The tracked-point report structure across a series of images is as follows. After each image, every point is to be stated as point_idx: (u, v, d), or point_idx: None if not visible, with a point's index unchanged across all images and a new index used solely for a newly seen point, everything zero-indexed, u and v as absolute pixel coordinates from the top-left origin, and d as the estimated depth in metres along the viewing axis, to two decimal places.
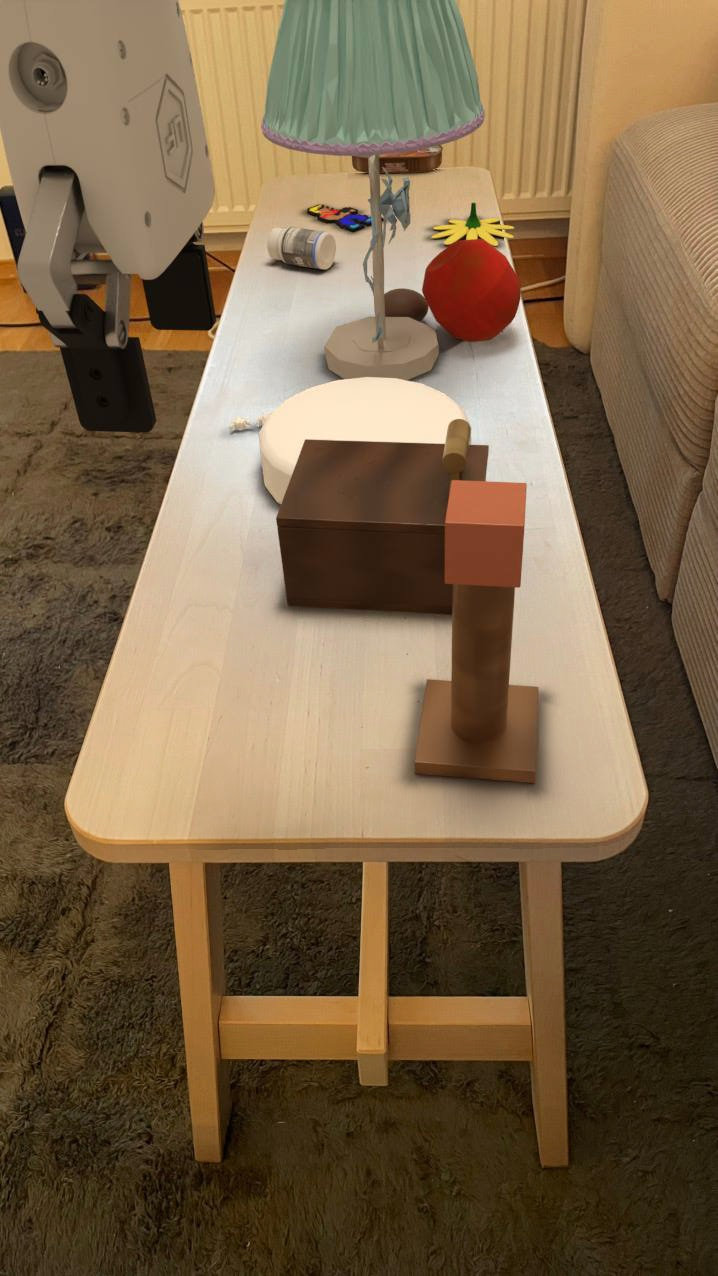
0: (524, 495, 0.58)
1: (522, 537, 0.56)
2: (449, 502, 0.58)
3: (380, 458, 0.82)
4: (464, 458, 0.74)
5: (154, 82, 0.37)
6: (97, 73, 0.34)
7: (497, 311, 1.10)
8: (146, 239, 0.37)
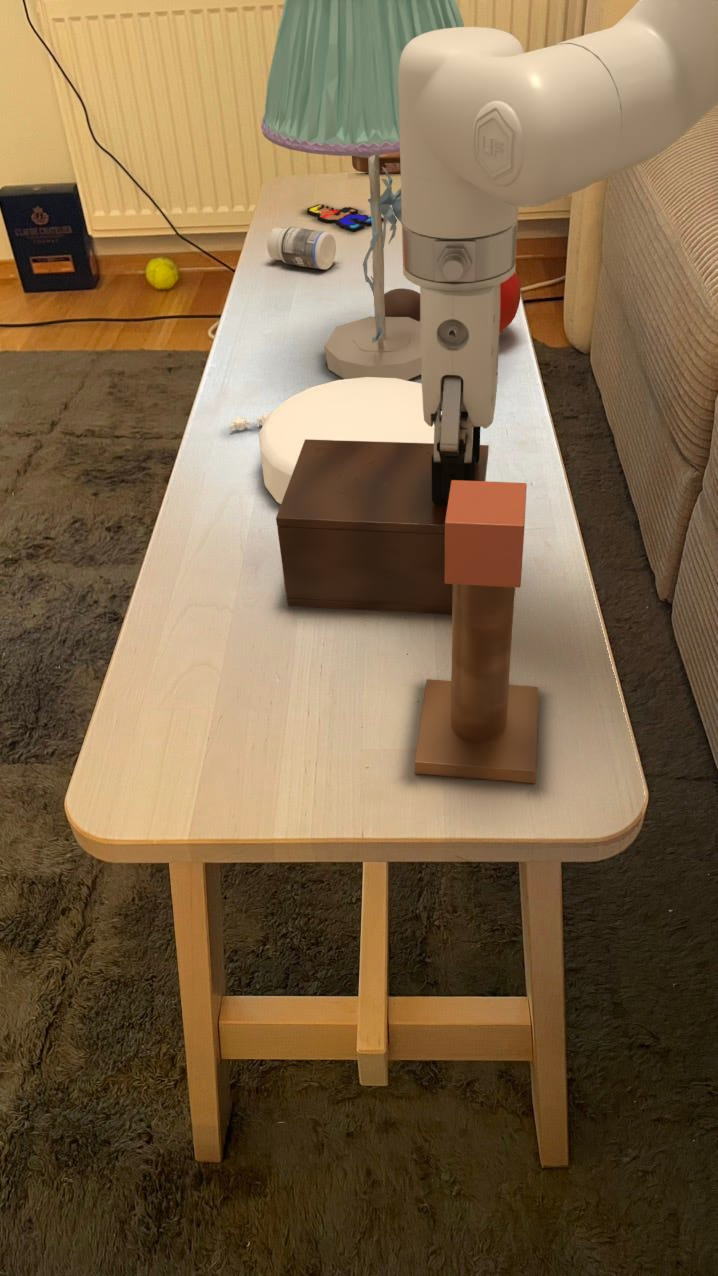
0: (524, 495, 0.58)
1: (522, 537, 0.56)
2: (449, 502, 0.58)
3: (380, 458, 0.82)
4: None
5: (498, 327, 0.68)
6: (483, 332, 0.65)
7: None
8: (490, 409, 0.69)
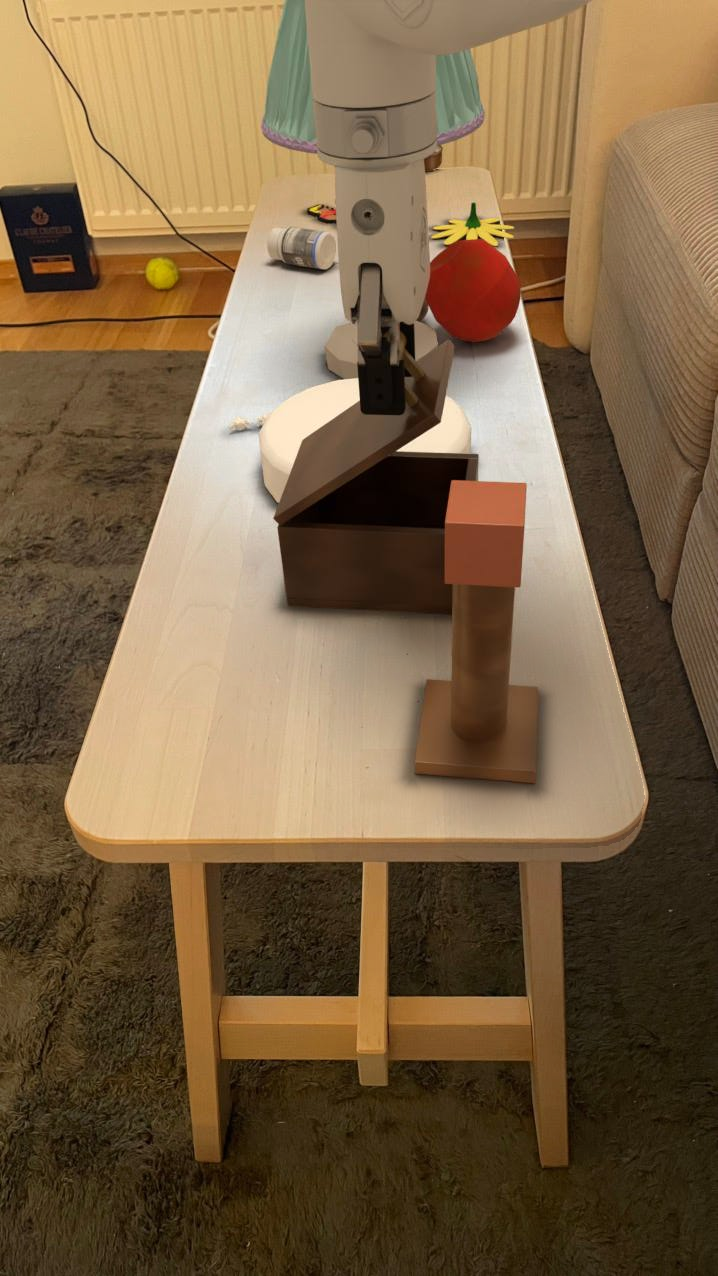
0: (524, 495, 0.58)
1: (522, 537, 0.56)
2: (449, 502, 0.58)
3: (358, 413, 0.79)
4: None
5: (420, 213, 0.64)
6: (400, 214, 0.61)
7: (497, 311, 1.10)
8: (413, 302, 0.65)
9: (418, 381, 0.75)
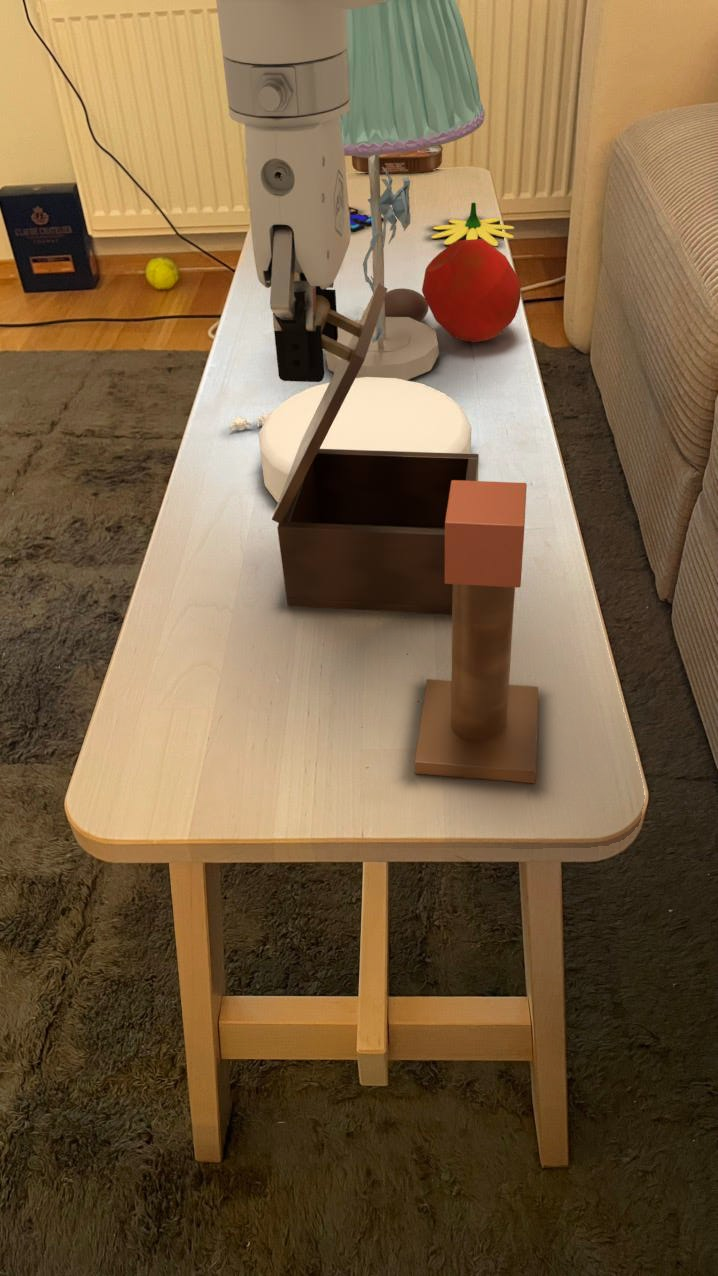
0: (524, 495, 0.58)
1: (522, 537, 0.56)
2: (449, 502, 0.58)
3: (326, 392, 0.79)
4: None
5: (334, 175, 0.63)
6: (311, 175, 0.60)
7: (497, 311, 1.10)
8: (327, 266, 0.64)
9: (356, 335, 0.73)
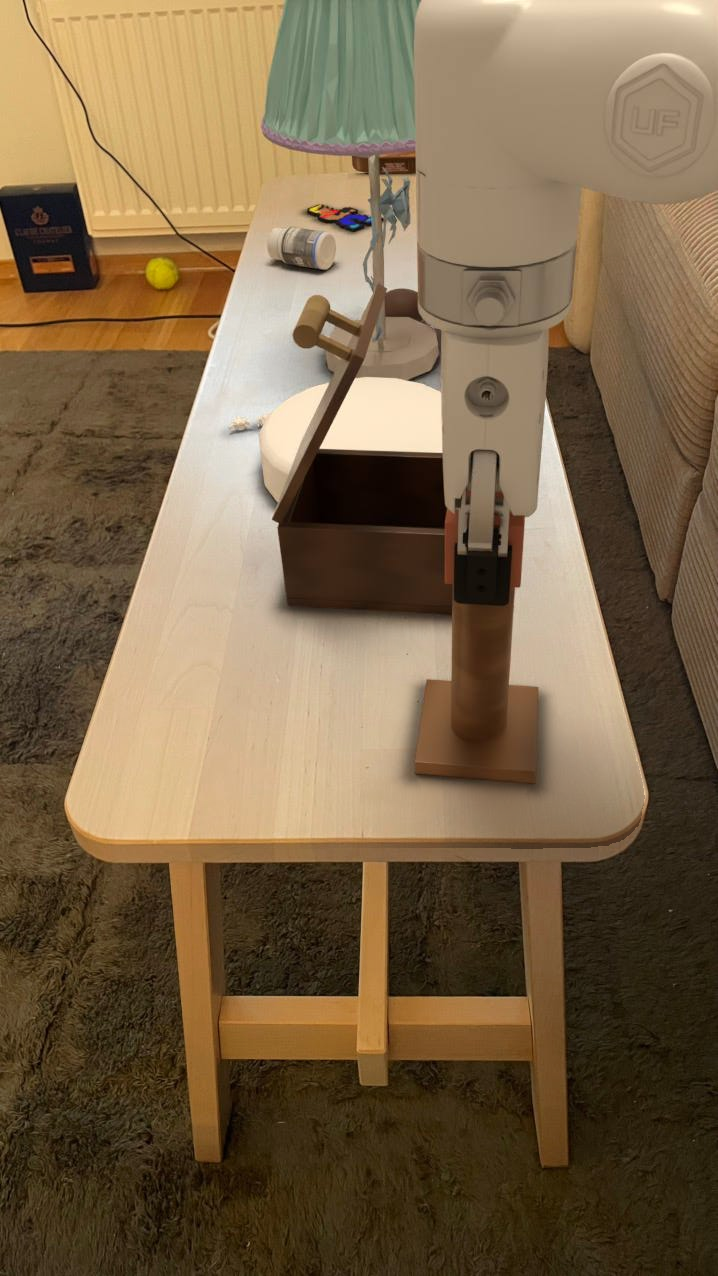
0: None
1: (522, 537, 0.56)
2: None
3: (326, 392, 0.79)
4: (304, 324, 0.69)
5: (546, 383, 0.51)
6: (529, 394, 0.48)
7: None
8: (535, 493, 0.51)
9: (356, 334, 0.73)
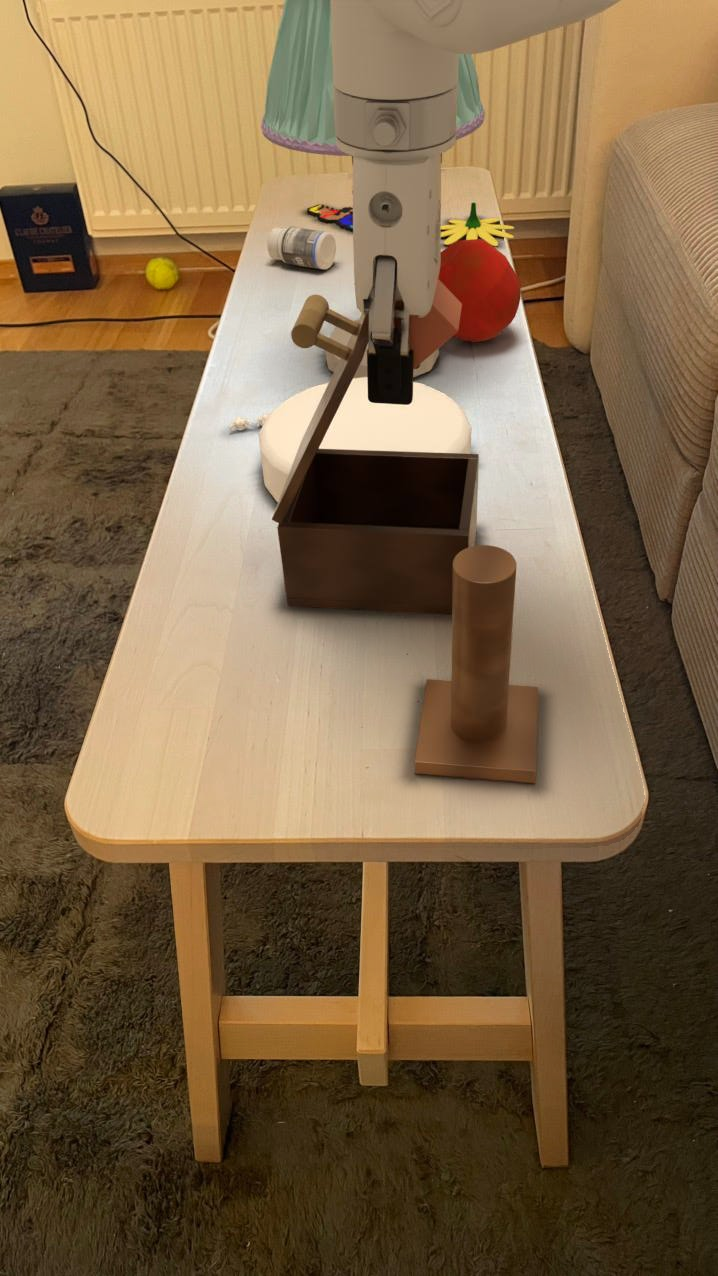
0: (460, 311, 0.71)
1: (449, 338, 0.69)
2: None
3: (326, 392, 0.79)
4: (302, 324, 0.69)
5: (436, 206, 0.64)
6: (418, 208, 0.61)
7: (497, 311, 1.10)
8: (426, 296, 0.65)
9: (354, 334, 0.73)
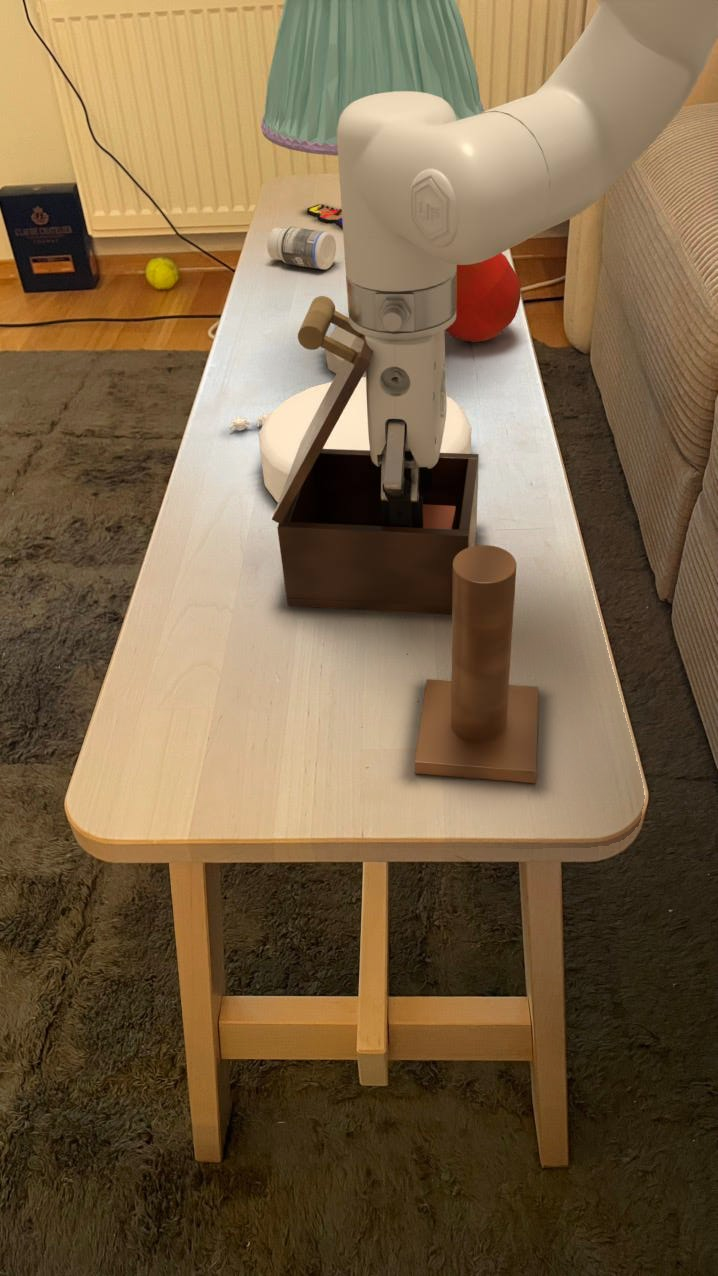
0: (453, 515, 0.81)
1: None
2: None
3: (328, 393, 0.79)
4: (309, 325, 0.69)
5: (440, 372, 0.71)
6: (424, 379, 0.68)
7: (497, 311, 1.10)
8: (434, 450, 0.72)
9: (360, 336, 0.73)
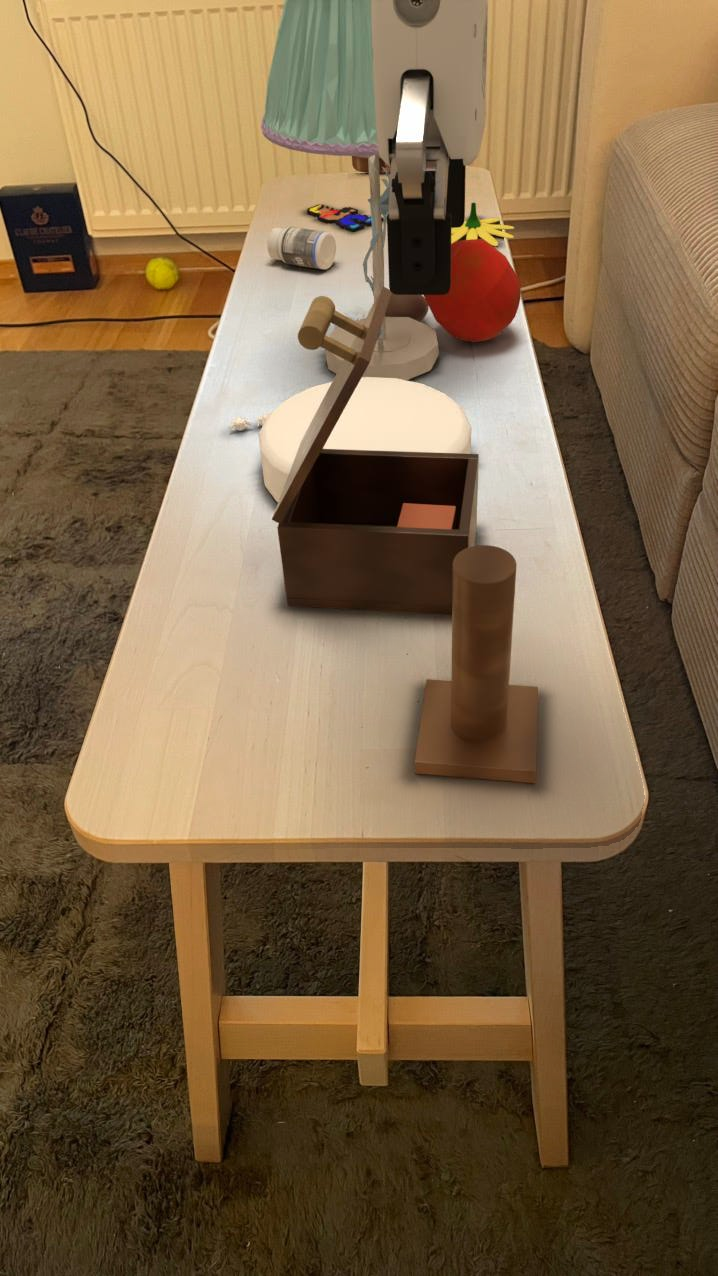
0: (453, 515, 0.81)
1: None
2: (399, 519, 0.81)
3: (328, 393, 0.79)
4: (309, 325, 0.69)
5: (484, 7, 0.47)
6: None
7: (497, 311, 1.10)
8: (474, 130, 0.48)
9: (360, 336, 0.73)
